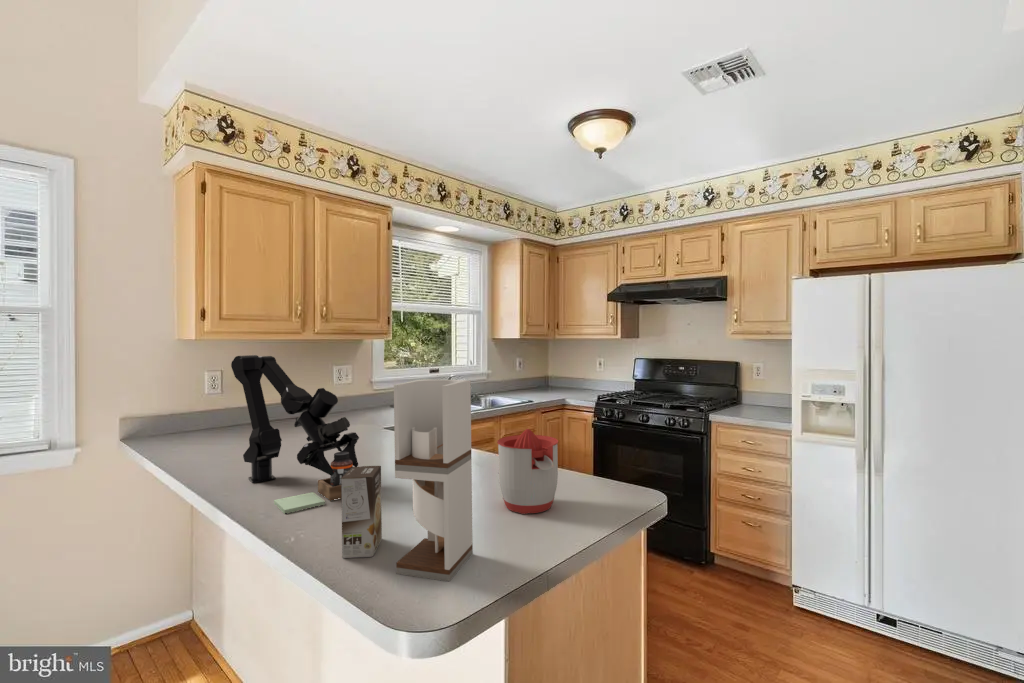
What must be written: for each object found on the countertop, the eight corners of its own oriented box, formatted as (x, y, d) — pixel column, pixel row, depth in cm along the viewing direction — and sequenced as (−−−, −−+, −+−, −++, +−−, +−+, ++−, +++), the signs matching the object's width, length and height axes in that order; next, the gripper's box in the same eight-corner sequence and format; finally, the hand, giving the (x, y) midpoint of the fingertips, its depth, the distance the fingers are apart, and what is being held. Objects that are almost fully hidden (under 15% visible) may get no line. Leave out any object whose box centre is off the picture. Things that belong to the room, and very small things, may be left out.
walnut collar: (317, 492, 139) (317, 480, 139) (352, 485, 145) (352, 473, 145) (330, 501, 131) (330, 488, 131) (366, 493, 138) (365, 480, 138)
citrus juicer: (519, 525, 113) (518, 438, 113) (488, 502, 129) (487, 426, 129) (575, 513, 121) (574, 431, 120) (539, 493, 136) (538, 421, 136)
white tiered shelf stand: (424, 548, 102) (422, 379, 101) (472, 554, 98) (470, 380, 98) (396, 573, 91) (393, 384, 90) (449, 581, 88) (446, 385, 87)
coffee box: (374, 557, 98) (373, 477, 97) (341, 559, 97) (340, 478, 97) (382, 538, 107) (381, 464, 106) (352, 539, 106) (351, 465, 106)
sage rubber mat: (274, 503, 130) (274, 500, 130) (313, 495, 136) (312, 492, 136) (284, 514, 122) (284, 510, 122) (325, 504, 128) (325, 501, 128)
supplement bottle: (345, 497, 135) (345, 455, 135) (326, 495, 136) (325, 455, 136) (357, 490, 141) (356, 450, 141) (338, 489, 142) (337, 450, 142)
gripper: (303, 414, 131) (334, 459, 127) (353, 405, 148) (383, 444, 144) (283, 441, 135) (313, 486, 130) (334, 429, 152) (362, 468, 147)
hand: (345, 470), depth 138 cm, fingers open, 9 cm apart
